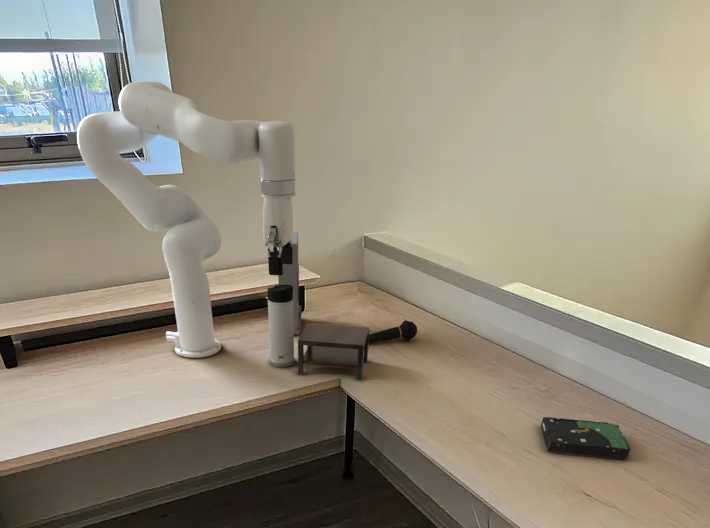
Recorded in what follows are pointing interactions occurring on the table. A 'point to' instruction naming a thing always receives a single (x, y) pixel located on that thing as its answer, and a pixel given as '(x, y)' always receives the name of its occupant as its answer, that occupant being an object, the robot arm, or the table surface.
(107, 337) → the table surface
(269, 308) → the travel mug
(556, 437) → the disk drive
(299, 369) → the plate
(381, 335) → the microphone
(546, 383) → the table surface
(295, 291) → the tall grey pillar
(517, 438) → the table surface
